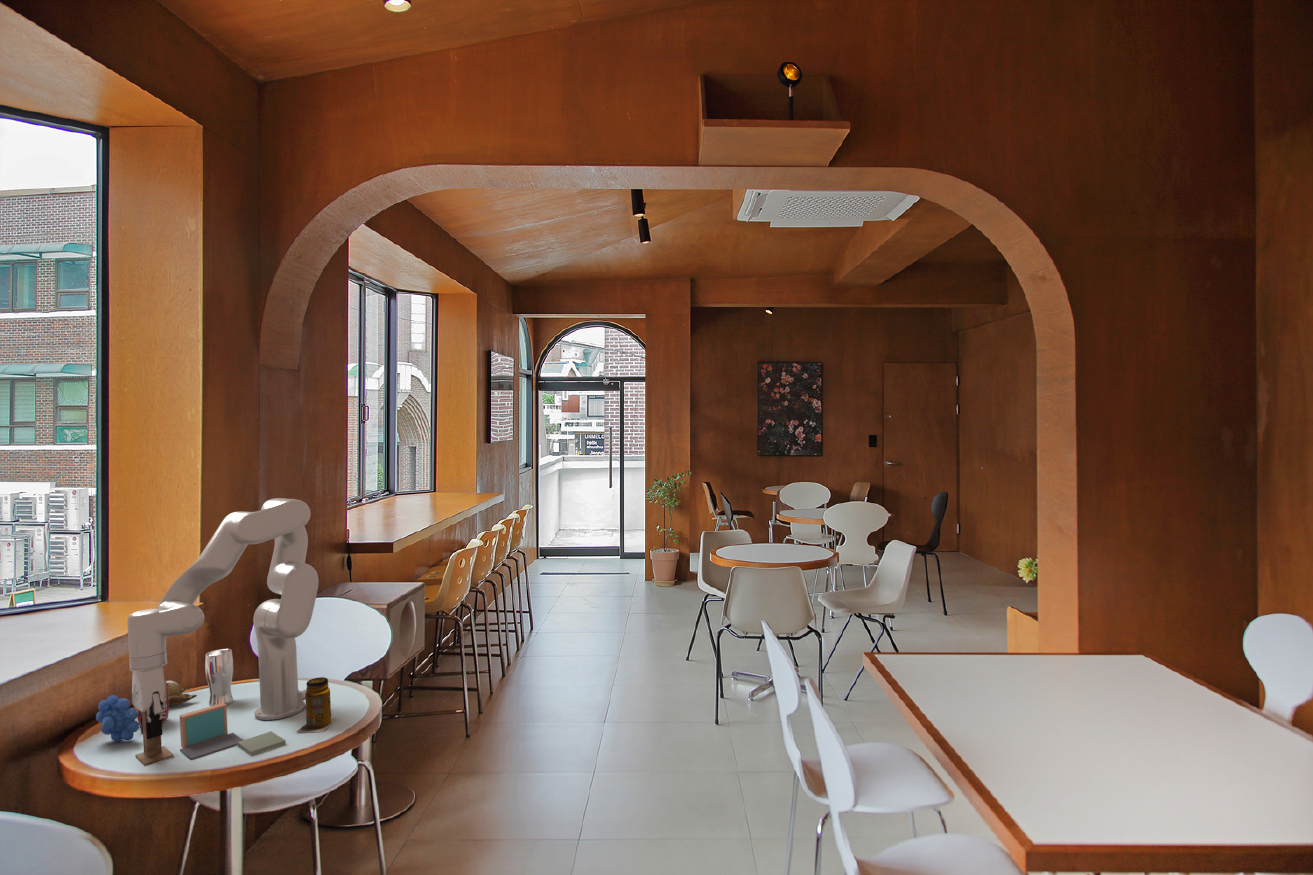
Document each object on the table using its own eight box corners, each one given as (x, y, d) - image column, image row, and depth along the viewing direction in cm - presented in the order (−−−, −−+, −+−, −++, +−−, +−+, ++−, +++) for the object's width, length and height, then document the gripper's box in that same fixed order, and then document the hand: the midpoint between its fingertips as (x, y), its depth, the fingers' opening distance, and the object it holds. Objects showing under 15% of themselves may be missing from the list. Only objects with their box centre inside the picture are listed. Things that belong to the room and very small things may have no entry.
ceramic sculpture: (126, 680, 207) (185, 668, 219) (125, 710, 207) (184, 697, 219) (137, 688, 201) (198, 676, 212) (136, 719, 200) (197, 705, 212)
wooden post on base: (164, 748, 181) (161, 698, 181) (174, 756, 176) (171, 705, 175) (135, 756, 176) (133, 706, 176) (144, 766, 171) (142, 713, 171)
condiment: (337, 718, 196) (335, 675, 195) (324, 731, 187) (322, 686, 187) (310, 720, 195) (308, 676, 195) (295, 733, 187) (293, 687, 187)
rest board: (271, 734, 186) (271, 731, 186) (285, 743, 180) (285, 740, 180) (237, 745, 180) (237, 742, 180) (251, 755, 174) (250, 751, 174)
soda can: (152, 729, 193) (150, 685, 193) (131, 728, 195) (128, 684, 194) (175, 718, 200) (173, 675, 200) (154, 717, 202) (152, 675, 201)
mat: (233, 733, 188) (232, 732, 188) (245, 742, 182) (244, 740, 182) (180, 750, 179) (179, 749, 179) (190, 759, 173) (190, 758, 173)
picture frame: (224, 732, 189) (223, 702, 189) (228, 735, 188) (226, 704, 187) (181, 746, 182) (179, 715, 181) (184, 749, 180) (182, 717, 180)
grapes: (83, 748, 183) (80, 701, 182) (107, 736, 189) (104, 691, 189) (124, 749, 181) (121, 702, 181) (146, 737, 188) (144, 692, 188)
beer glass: (214, 699, 214) (212, 649, 214) (239, 697, 215) (236, 647, 214) (202, 708, 207) (199, 656, 207) (227, 706, 208) (224, 655, 207)
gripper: (120, 658, 179) (124, 731, 180) (139, 671, 168) (143, 749, 169) (156, 650, 185) (159, 721, 185) (176, 662, 174) (180, 737, 174)
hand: (151, 733), depth 177 cm, fingers open, 3 cm apart
